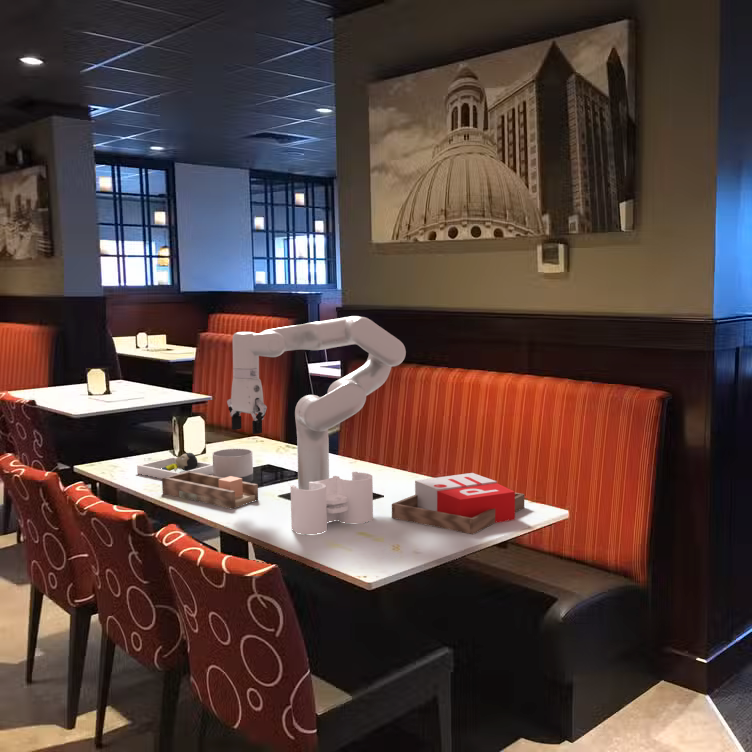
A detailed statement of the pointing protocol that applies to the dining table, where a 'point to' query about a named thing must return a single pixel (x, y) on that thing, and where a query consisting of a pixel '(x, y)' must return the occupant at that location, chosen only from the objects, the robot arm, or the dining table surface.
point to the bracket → (332, 503)
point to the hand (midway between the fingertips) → (246, 431)
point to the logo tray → (447, 516)
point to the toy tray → (156, 471)
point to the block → (232, 484)
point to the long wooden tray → (207, 489)
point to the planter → (233, 464)
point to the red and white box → (466, 496)
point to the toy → (183, 463)
